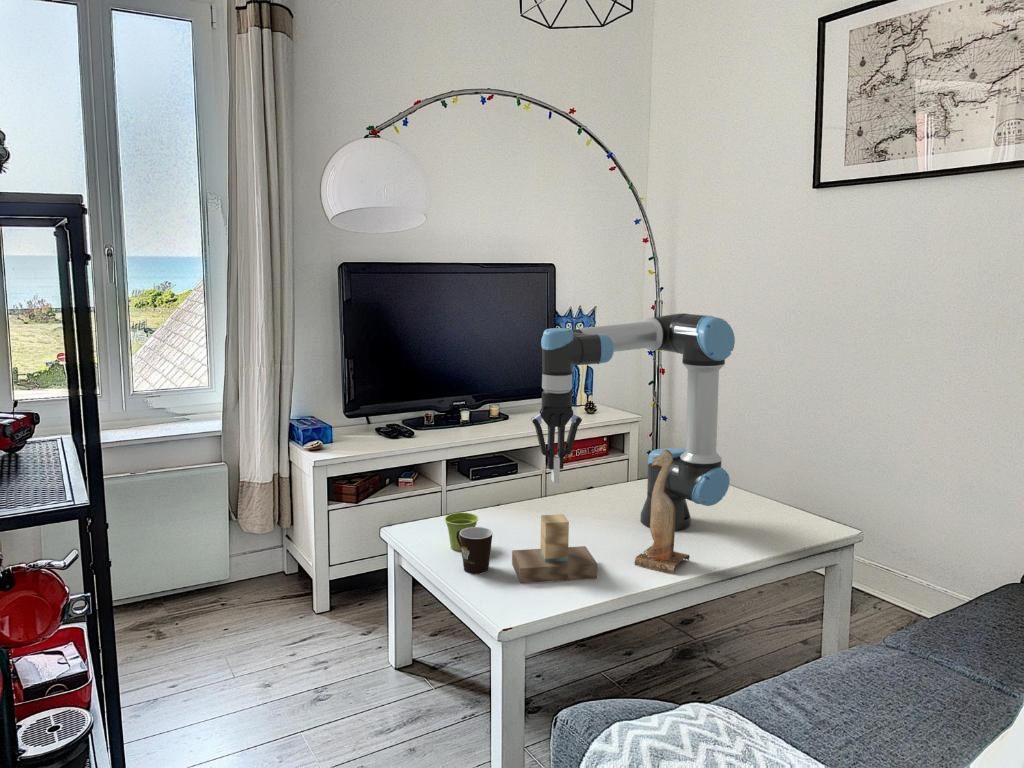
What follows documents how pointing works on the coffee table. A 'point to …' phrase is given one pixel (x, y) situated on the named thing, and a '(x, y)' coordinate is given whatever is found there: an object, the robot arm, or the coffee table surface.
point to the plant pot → (459, 526)
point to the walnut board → (554, 566)
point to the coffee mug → (475, 549)
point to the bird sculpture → (661, 523)
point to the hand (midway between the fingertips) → (555, 481)
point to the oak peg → (554, 538)
